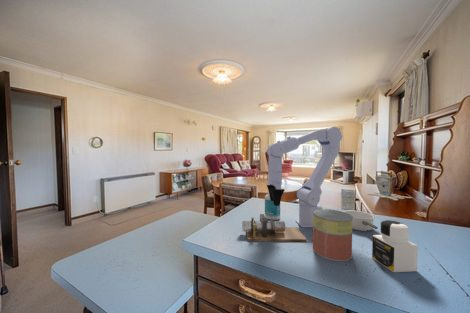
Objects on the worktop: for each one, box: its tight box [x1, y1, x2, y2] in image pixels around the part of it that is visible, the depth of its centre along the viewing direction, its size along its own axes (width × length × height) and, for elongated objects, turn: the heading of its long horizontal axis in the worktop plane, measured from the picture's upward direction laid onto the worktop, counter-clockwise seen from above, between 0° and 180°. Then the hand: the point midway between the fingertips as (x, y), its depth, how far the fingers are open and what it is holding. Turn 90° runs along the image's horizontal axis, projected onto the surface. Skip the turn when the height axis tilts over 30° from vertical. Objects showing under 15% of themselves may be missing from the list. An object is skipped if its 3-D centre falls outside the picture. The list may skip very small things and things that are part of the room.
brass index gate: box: [251, 216, 257, 237], centre depth 73 cm, size 2×9×5 cm, turn 0°
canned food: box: [312, 208, 353, 262], centre depth 61 cm, size 11×11×12 cm
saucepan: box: [342, 209, 378, 232], centre depth 77 cm, size 12×20×6 cm, turn 169°
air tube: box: [241, 220, 286, 233], centre depth 73 cm, size 16×5×5 cm, turn 90°
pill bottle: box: [264, 189, 281, 221], centre depth 92 cm, size 8×7×14 cm
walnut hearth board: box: [246, 226, 308, 243], centre depth 73 cm, size 21×11×1 cm, turn 90°
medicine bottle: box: [371, 219, 419, 273], centre depth 54 cm, size 7×7×12 cm
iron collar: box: [259, 213, 268, 237], centre depth 73 cm, size 2×8×6 cm, turn 0°
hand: (274, 202), depth 82 cm, fingers open, 7 cm apart
